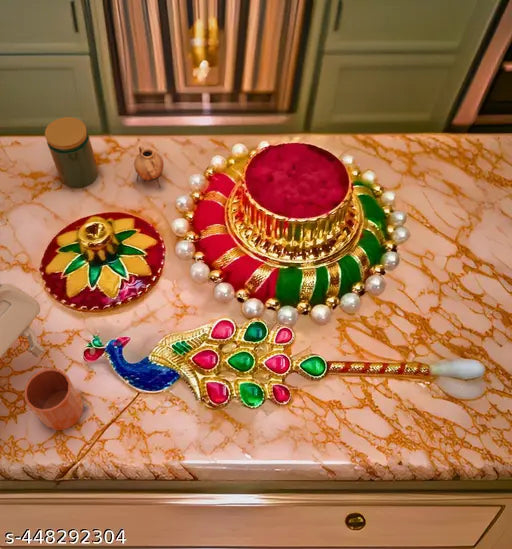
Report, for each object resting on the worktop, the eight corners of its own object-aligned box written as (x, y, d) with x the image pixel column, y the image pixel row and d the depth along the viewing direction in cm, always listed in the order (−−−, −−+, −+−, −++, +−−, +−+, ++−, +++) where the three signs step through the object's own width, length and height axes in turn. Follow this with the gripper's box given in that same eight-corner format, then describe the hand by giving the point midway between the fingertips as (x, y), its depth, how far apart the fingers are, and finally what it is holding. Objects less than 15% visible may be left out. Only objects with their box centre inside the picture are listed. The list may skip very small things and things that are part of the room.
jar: (67, 193, 118) (52, 151, 108) (54, 168, 122) (38, 125, 112) (104, 179, 121) (92, 137, 110) (90, 154, 124) (77, 111, 114)
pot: (142, 168, 123) (132, 188, 119) (139, 138, 117) (128, 157, 113) (169, 173, 123) (159, 193, 119) (167, 143, 117) (157, 163, 113)
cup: (49, 437, 91) (33, 419, 84) (35, 402, 94) (18, 381, 87) (89, 417, 93) (77, 397, 86) (74, 383, 96) (61, 361, 89)
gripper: (-111, 381, 73) (-23, 441, 79) (0, 265, 83) (70, 326, 89) (-119, 379, 78) (-36, 436, 84) (-13, 269, 88) (55, 327, 94)
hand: (20, 378), depth 87 cm, fingers open, 8 cm apart
